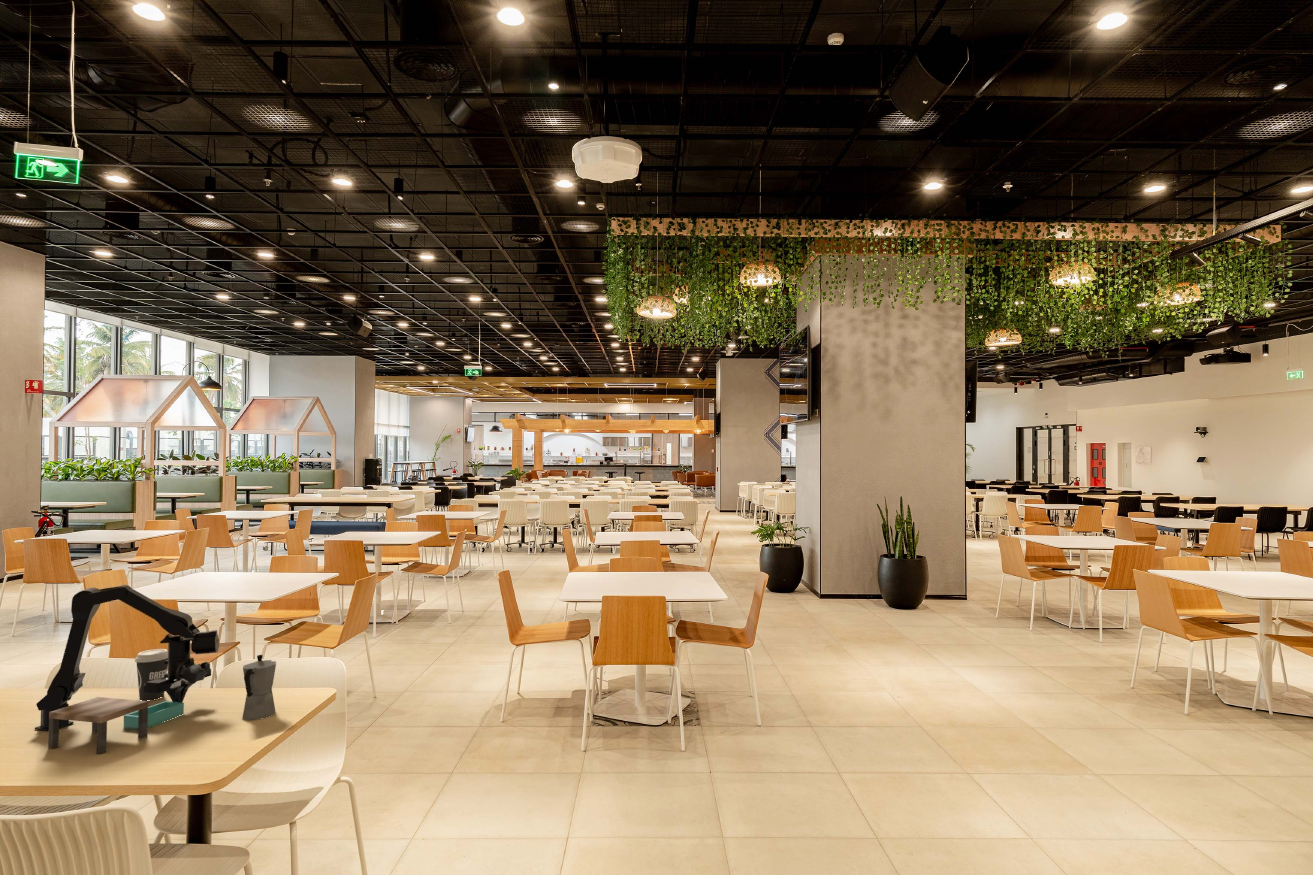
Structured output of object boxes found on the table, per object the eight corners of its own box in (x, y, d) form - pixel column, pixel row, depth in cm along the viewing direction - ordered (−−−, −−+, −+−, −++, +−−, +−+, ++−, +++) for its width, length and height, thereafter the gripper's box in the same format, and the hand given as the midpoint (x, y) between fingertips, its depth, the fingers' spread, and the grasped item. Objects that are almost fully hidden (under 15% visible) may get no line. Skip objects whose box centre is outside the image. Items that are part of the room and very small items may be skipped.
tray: (123, 729, 204) (123, 715, 204) (165, 714, 216) (165, 700, 217) (142, 731, 202) (142, 717, 202) (183, 715, 215) (183, 702, 215)
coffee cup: (139, 705, 224) (140, 657, 225) (129, 699, 230) (130, 652, 231) (174, 697, 232) (175, 650, 233) (163, 691, 238) (164, 646, 238)
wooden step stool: (48, 748, 189) (49, 712, 190) (97, 730, 202) (98, 696, 202) (100, 754, 185) (101, 716, 185) (147, 735, 198) (148, 700, 198)
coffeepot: (253, 708, 220) (253, 649, 221) (284, 706, 221) (285, 648, 222) (227, 726, 205) (228, 663, 205) (262, 724, 205) (262, 661, 206)
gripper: (173, 665, 207) (172, 719, 206) (225, 649, 225) (225, 699, 224) (142, 663, 209) (141, 717, 209) (197, 647, 228) (196, 696, 227)
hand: (178, 707), depth 217 cm, fingers closed
